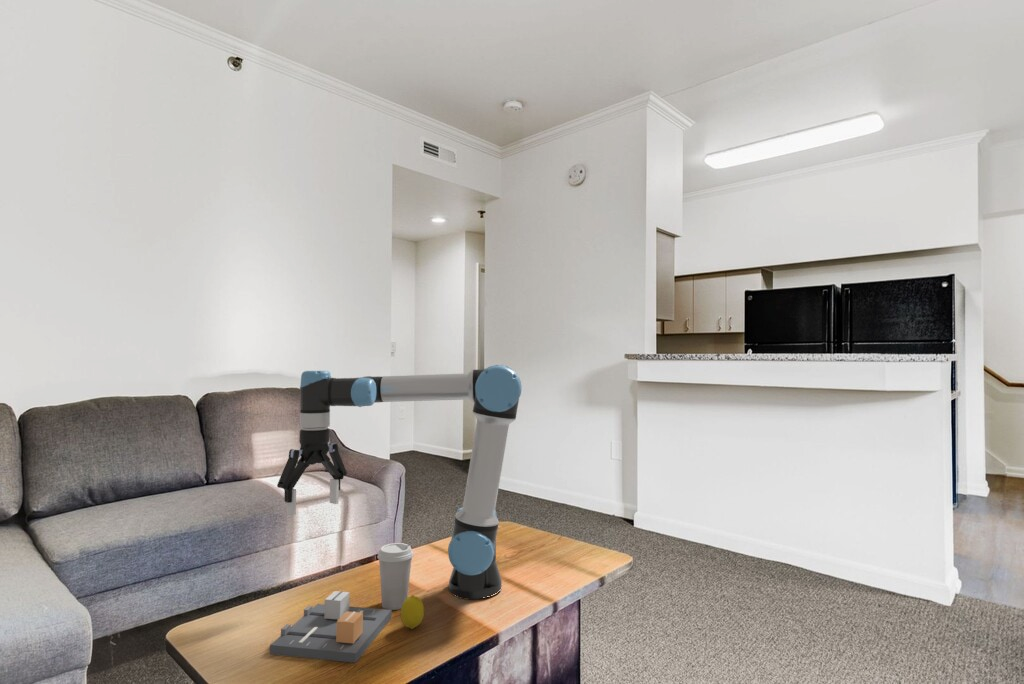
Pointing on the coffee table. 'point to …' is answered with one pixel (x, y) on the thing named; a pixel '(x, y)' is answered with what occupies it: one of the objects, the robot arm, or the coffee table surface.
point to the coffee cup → (394, 574)
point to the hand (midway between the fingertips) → (313, 508)
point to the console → (328, 635)
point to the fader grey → (336, 605)
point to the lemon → (412, 612)
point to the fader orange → (349, 627)
